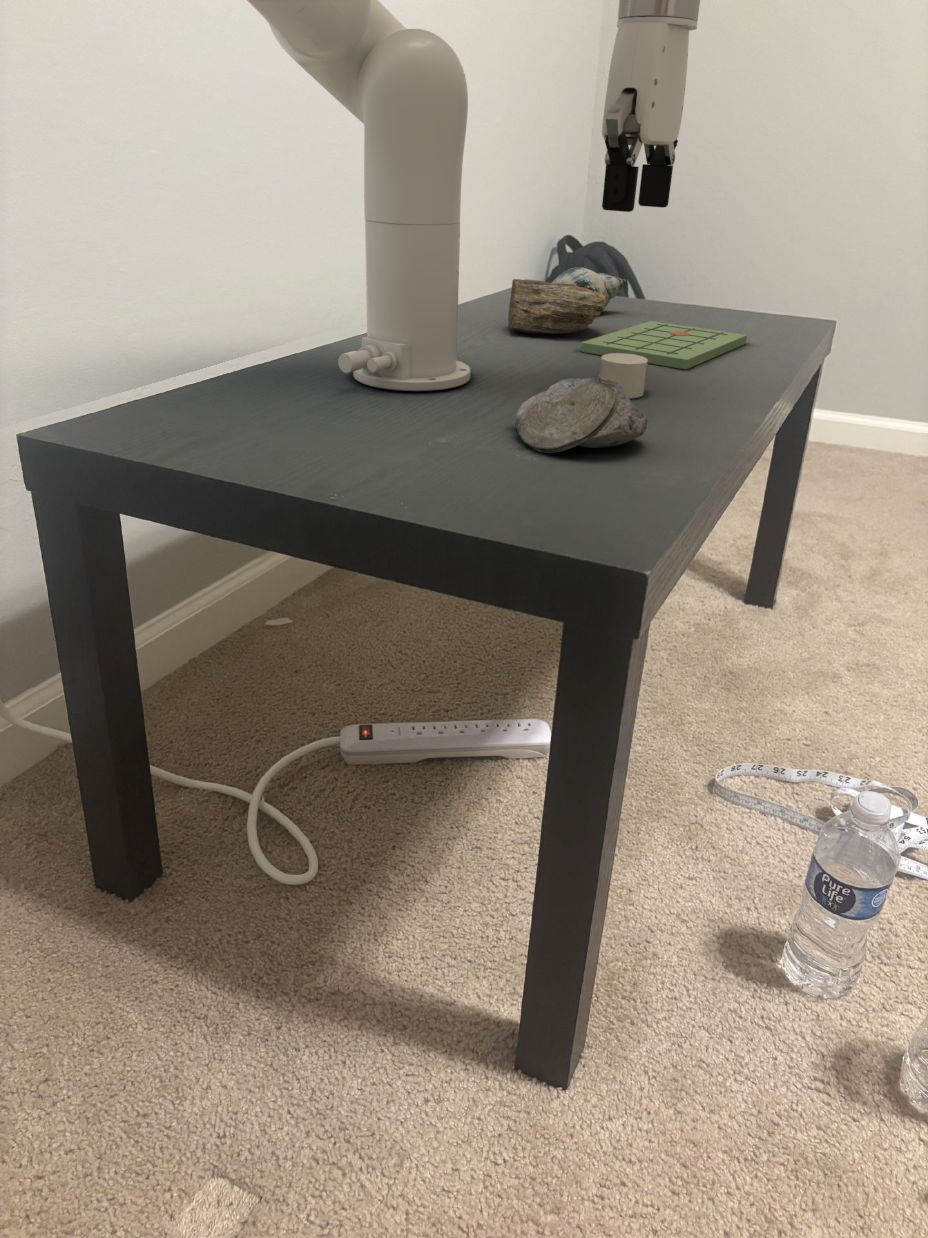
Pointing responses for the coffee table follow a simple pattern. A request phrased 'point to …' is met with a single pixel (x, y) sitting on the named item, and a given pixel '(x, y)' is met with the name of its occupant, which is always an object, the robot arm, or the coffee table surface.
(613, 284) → the seashell
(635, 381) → the beige cylinder
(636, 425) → the fossilized seashell
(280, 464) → the coffee table surface
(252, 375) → the coffee table surface
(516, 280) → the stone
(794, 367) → the coffee table surface
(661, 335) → the board
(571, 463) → the coffee table surface
